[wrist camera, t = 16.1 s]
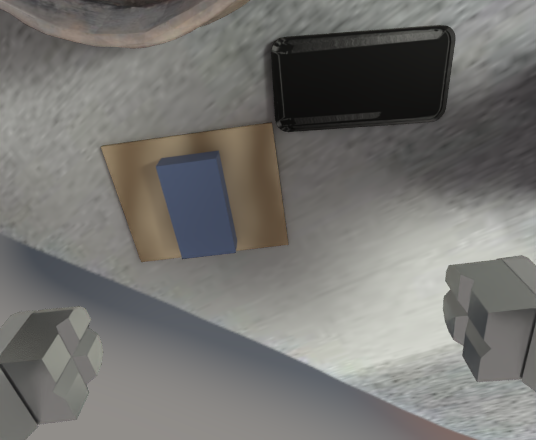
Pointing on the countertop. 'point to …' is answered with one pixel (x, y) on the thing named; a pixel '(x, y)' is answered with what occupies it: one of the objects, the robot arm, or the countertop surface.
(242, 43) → the countertop surface
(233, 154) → the mat
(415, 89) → the phone
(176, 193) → the box
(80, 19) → the ceramic bowl
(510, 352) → the robot arm
